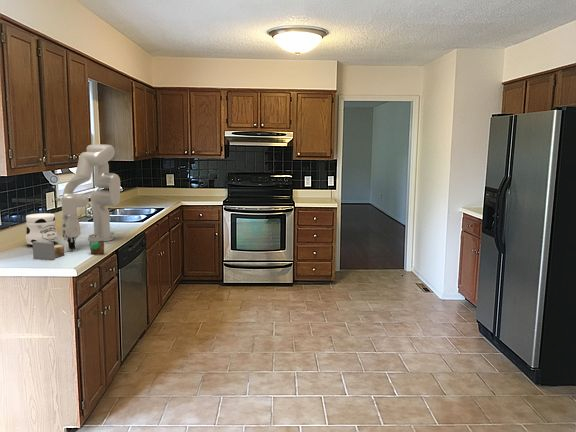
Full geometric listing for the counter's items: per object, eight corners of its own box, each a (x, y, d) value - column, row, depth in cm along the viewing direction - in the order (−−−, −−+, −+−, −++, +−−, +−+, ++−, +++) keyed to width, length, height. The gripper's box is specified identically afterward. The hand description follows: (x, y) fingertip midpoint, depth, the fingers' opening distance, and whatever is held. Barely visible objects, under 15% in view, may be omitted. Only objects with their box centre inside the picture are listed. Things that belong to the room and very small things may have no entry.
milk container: (53, 247, 279) (51, 217, 277) (21, 248, 276) (19, 217, 273) (61, 241, 296) (59, 212, 293) (31, 242, 293) (29, 213, 290)
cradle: (51, 253, 263) (51, 246, 262) (64, 254, 261) (63, 247, 260) (39, 257, 254) (38, 250, 254) (52, 258, 252) (51, 251, 251)
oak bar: (57, 254, 264) (57, 245, 263) (64, 254, 263) (63, 245, 262) (44, 258, 255) (43, 249, 254) (51, 258, 253) (50, 249, 253)
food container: (85, 252, 268) (84, 235, 266) (95, 250, 272) (95, 233, 271) (94, 256, 259) (93, 238, 258) (105, 254, 264) (104, 236, 262)
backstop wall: (36, 257, 255) (35, 241, 253) (55, 259, 252) (53, 242, 250) (33, 258, 253) (32, 241, 251) (52, 260, 250) (51, 243, 248)
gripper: (66, 219, 261) (68, 252, 264) (84, 215, 275) (86, 246, 278) (54, 219, 263) (56, 251, 266) (73, 214, 277) (75, 245, 280)
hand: (71, 248), depth 272 cm, fingers closed
